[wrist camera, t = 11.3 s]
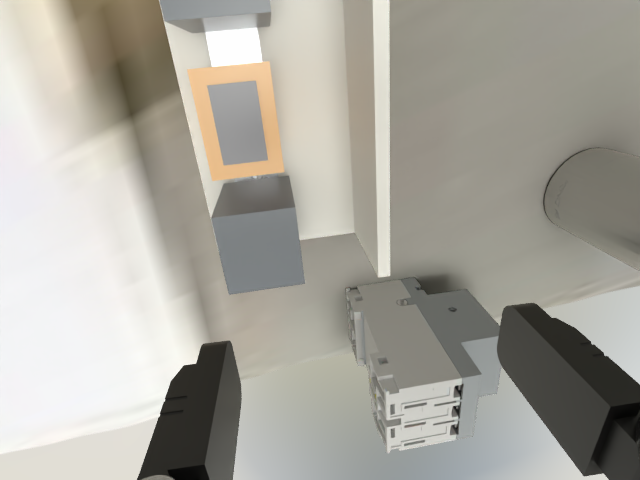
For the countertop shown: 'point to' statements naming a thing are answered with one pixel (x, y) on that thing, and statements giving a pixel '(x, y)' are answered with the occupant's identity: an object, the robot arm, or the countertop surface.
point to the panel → (319, 114)
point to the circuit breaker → (423, 360)
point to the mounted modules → (253, 195)
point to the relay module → (237, 119)
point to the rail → (236, 58)
